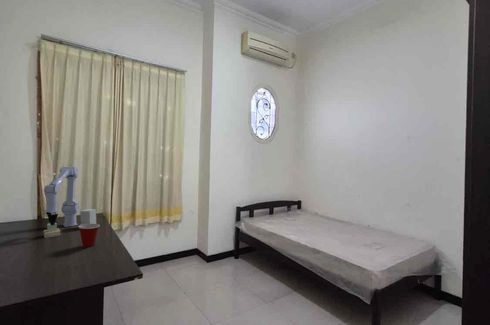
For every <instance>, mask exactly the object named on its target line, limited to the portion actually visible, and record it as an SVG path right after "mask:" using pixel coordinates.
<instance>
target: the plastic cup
mask: <svg viewBox="0 0 490 325" xmlns="http://www.w3.org/2000/svg"><path fill="white" fill-rule="evenodd" d="M100 226H101V225H100V224H98V223H96V224H83V225H81V224H80V225H77V227H78V229H79V232H80V237H81V242H82V246H83V248H90V247H94V246H95V244H96V240H97V235H98V231H99V227H100Z"/></svg>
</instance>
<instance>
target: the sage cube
mask: <svg viewBox="0 0 490 325" xmlns="http://www.w3.org/2000/svg"><path fill="white" fill-rule="evenodd" d="M46 227H47V228H46V230H47V231H48V232H53V231H57V228H58V223H57V222H55V225H50V223H47V226H46Z"/></svg>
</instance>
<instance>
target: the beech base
mask: <svg viewBox="0 0 490 325" xmlns="http://www.w3.org/2000/svg"><path fill="white" fill-rule="evenodd" d="M60 236H61V229H60V228H59V227H57V231H53V232H48V231H47V229H44V230H43V237H44V238H45V239H47V238H53V237H54V238H55V237H60Z"/></svg>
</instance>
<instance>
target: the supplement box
mask: <svg viewBox="0 0 490 325" xmlns="http://www.w3.org/2000/svg"><path fill="white" fill-rule="evenodd" d="M79 213H80V218H79V219H80V222H79V223H80V225H83V224H97V209H96V208H86V209H83V210H80V212H79Z"/></svg>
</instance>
